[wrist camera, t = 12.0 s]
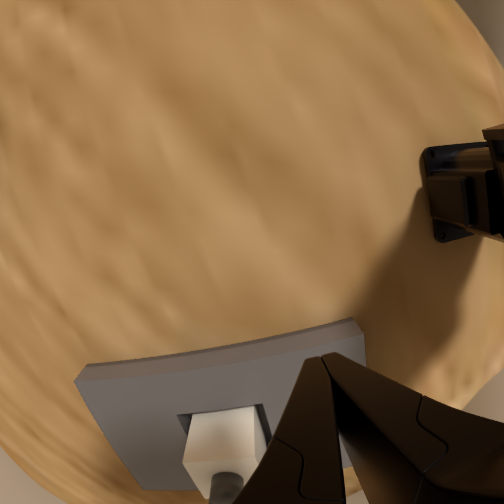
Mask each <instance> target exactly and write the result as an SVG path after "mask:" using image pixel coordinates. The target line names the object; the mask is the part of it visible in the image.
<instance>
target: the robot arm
mask: <svg viewBox="0 0 504 504" xmlns="http://www.w3.org/2000/svg"><path fill="white" fill-rule="evenodd" d="M482 133H483V136H484V140H486V141H487V142H474V143H463V144H453V145H443V146H434V147H427V148H425V149H424V151H423V157H424V163H425V169H426V174H427V180H426V182H427V189H428V196H429V203H430V212H431V216H432V218H433V228H434V237H435V240H436V241H438V242H440V243H445V242H449V241H452V240H456V239H459V238H463V237H466V236H470V235H474V234H478V235H481V236H484V237H488V238H491V239H494V240H497V241H501V242H504V124H501V125H498V126H494V127H490V128H487V129H483V130H482ZM429 152H431V153H432V157H430V156H429ZM441 233H443V236H442V238H440V234H441ZM339 436H340V438H341V441H342V443H343V445H344V447H345V450H346V452H347V454H348V457H349V459H350V461H351V463H352V466H353V468H354V470H355V473H356V475H357V477H358V479H359V482H360V484H361V486H362V489H363V491H364V493H365V495H366V497H367V500H368V502H369V504H504V423H502V422H498V421H495V420H491V419H487V418H484V417H480V416H477V415H474V414H470V413H467V412H464V411H462V410H459V409H456V408H453V407H450V406H448V405H445V404H443V403H441V402H438V401H436V400H434V399H431V398H429V397H427V396H425V395H424V396H423V395H422V394H420V393H418V392H416V391H414V390H412V389H410V388H408V387H406V386H404V385H402V384H399V383H397V382H395V381H393V380H391V379H389V378H387V377H385V376H383V375H381V374H379V373H377V372H375V371H373V370H371V369H369V368H367V367H365V366H363V365H361V364H359V363H357V362H355V361H353V360H351V359H349V358H347V357H345V356H343V355H341V354H339V353H337V352H331V353H327V354H323V355H322V356H321V357H320V356H315V357H311V358H307V359H305V360H304V362H303V365H302V367H301V370H300V372H299V375H298V377H297V380H296V382H295V385H294V387H293V390H292V392H291V395H290V397H289V400H288V402H287V404H286V407H285V409H284V411H283V414H282V416H281V418H280V421H279V423H278V425H277V428H276V430H275V432H274V434H273V437H272V439H271V441H270V443H269V445H268V447H267V449H266V451H265V453H264V455H263V457H262V459H261V461H260V463H259V465H258V466H257V468H256V469H255V471H254V472H253V474H252V476H251V477H250V479H249V480H248V482H247V483H246V484H245V486H244V487H243V488H242V490H241V491H240V493H239V494H238V495H237V497H236V498H235V499H234V501H233V502H232V503H231V504H346V495H345V484H344V475H343V465H342V456H341V448H340V440H339Z"/></svg>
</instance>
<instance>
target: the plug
mask: <svg viewBox="0 0 504 504" xmlns="http://www.w3.org/2000/svg"><path fill="white" fill-rule="evenodd" d="M265 451H266V437H265V433H264V429H263V426H262V423H261V420H260V416H259V413H258V410H257V406H256V404H255V405H249V406H243V407H236V408H230V409H223V410H215V411H207V412H198V413H193V415H192V420H191V424H190V429H189V433H188V438H187V443H186V447H185V452H184V456H183V461H182V463H183V465H184V467H185V468H186V470H187V472H188V473H189V475H190V477H191V478H192V480H193V481H194V483H195V485H196V486H197V488H198V489H199V491H200V492H201V494H202V495H203V497H204V498H205V499H209V504H231V503H232V502H233V501H234V499H235V498H236V497H237V495H238V494H239V493H240V491H241V490H242V488H243V487H244V486H245V484H246V483H247V482H248V480H249V479H250V477H251V476H252V474H253V472H254V471H255V469H256V468H257V466H258V465H259V463H260V461H261V459H262V457H263V455H264V453H265Z"/></svg>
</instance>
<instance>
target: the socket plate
mask: <svg viewBox="0 0 504 504" xmlns="http://www.w3.org/2000/svg"><path fill="white" fill-rule="evenodd" d="M331 352H337V353H339V354H341V355H343V356H345V357H347V358H349V359H351V360H353V361H355V362H357V363H359V364H361V365H363V366H365V367H366V354H365V340H364V333H363V332H362V330H361V329H360V327H359V326H358V325H357V323H356V322H355V321H354V319H353V318H348V319H344V320H340V321H336V322H333V323H329V324H325V325H320V326H316V327H312V328H308V329H304V330H299V331H295V332H291V333H286V334H282V335H277V336H272V337H267V338H263V339H258V340H253V341H248V342H243V343H237V344H232V345H226V346H221V347H215V348H209V349H204V350H197V351H191V352H185V353H178V354H171V355H164V356H157V357H150V358H142V359H134V360H125V361H116V362H106V363H96V364H87V365H86V366H85V368H84V369H83V370H82V371H81V373H80V374H79V375H78V376H77V378H76V379H75V380H74V383H75V385H76V387H77V388H78V390H79V392H80V394H81V396H82V398H83V400H84V401H85V403H86V405H87V407H88V409H89V410H90V412H91V414H92V415H93V417H94V419H95V421H96V422H97V424H98V425H99V427H100V429H101V430H102V432H103V434H104V435H105V437H106V438H107V440H108V441H109V443H110V444H111V446H112V447H113V449H114V450H115V452H116V453H117V455H118V456H119V458H120V459H121V461H122V462H123V463H124V465H125V466H126V468H127V469H128V470H129V472H130V473H131V475H132V476H133V477H134V479H135V480H136V481H137V482H138V484H139V485H140V486H141V488H142V489H143V490H172V491H180V490H199V489H198V488H197V486H196V485H195V483H194V481H193V480H192V478H191V477H190V475H189V473H188V472H187V470H186V468H185V467H184V465H183V463H182V461H183V456H184V452H185V447H186V443H187V438H188V433H189V429H190V424H191V420H192V415H193V413H198V412H207V411H215V410H223V409H230V408H236V407H243V406H249V405H255V404H256V406H257V410H258V413H259V416H260V420H261V423H262V426H263V429H264V433H265V437H266V449H267V447H268V445H269V443H270V441H271V439H272V437H273V434H274V432H275V430H276V428H277V425H278V423H279V421H280V418H281V416H282V414H283V411H284V409H285V407H286V404H287V402H288V400H289V397H290V395H291V392H292V390H293V387H294V385H295V382H296V380H297V377H298V375H299V372H300V370H301V367H302V365H303V362H304V360H305V359H307V358H311V357H315V356H320V357H321V356H322V355H323V354H327V353H331ZM339 440H340V448H341V456H342V465H343V468H347V467H351V466H352V463H351V461H350V459H349V457H348V454H347V452H346V450H345V447H344V445H343V443H342V441H341V438H340V436H339Z"/></svg>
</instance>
